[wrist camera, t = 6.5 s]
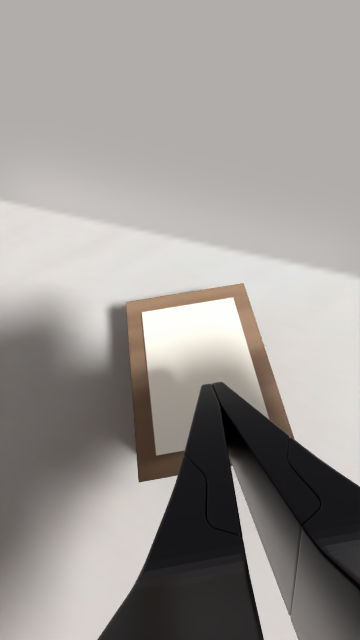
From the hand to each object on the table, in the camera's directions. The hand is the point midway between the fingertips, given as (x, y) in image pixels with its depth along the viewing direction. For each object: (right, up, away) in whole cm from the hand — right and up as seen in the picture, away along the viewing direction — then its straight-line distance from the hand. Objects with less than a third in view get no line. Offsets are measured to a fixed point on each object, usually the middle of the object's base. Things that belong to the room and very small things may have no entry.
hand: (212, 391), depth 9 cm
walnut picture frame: (+1, -5, +4) cm, 6 cm away
